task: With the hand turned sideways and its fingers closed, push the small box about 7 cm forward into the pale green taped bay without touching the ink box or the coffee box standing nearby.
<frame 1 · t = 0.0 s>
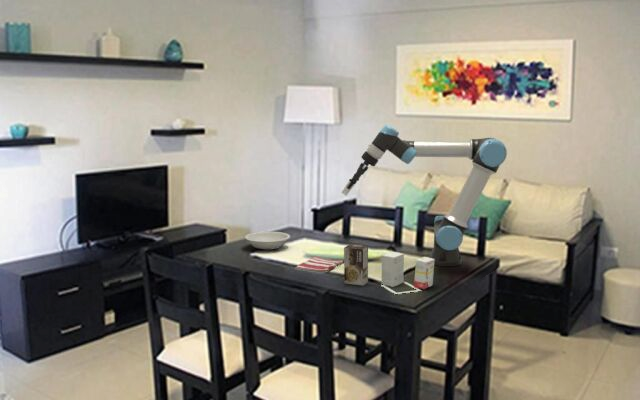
hand: (345, 191, 287), 36 cm above the table, tool tilted 35°, fingers open, 13 cm apart
coffee box: (356, 283, 268), on the table
soup bowl: (267, 248, 329), on the table
ink box: (423, 286, 261), on the table, touching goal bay
small box: (392, 284, 266), on the table
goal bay: (400, 288, 260), on the table
dish towel: (320, 266, 296), on the table
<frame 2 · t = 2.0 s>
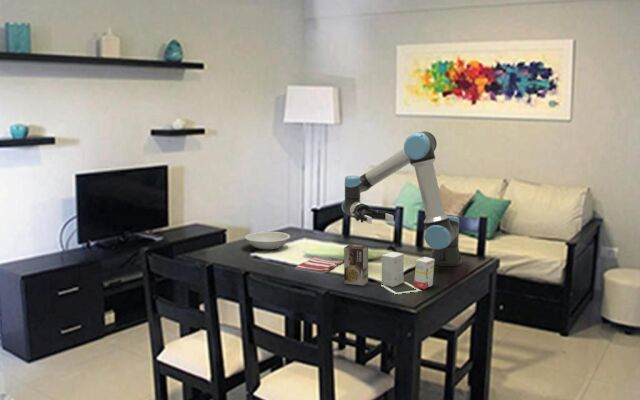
hand: (382, 219, 272), 26 cm above the table, tool horizontal, fingers open, 10 cm apart
nothing on the table moved.
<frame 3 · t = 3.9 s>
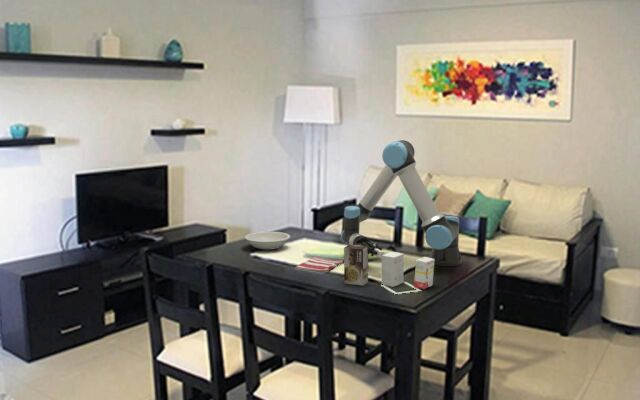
hand: (382, 255, 272), 11 cm above the table, tool horizontal, fingers closed
nothing on the table moved.
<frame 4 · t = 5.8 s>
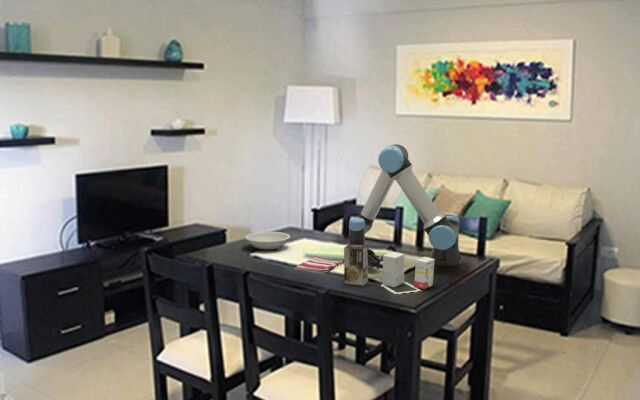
hand: (387, 268, 268), 6 cm above the table, tool horizontal, fingers closed
small box: (393, 284, 265), on the table, touching gripper
everything else where it was.
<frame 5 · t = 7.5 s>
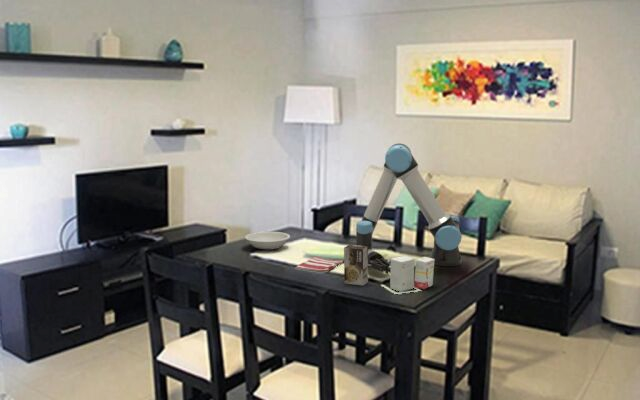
hand: (397, 272, 261), 6 cm above the table, tool horizontal, fingers closed
small box: (401, 289, 259), on the table, touching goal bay, gripper
everything else where it was.
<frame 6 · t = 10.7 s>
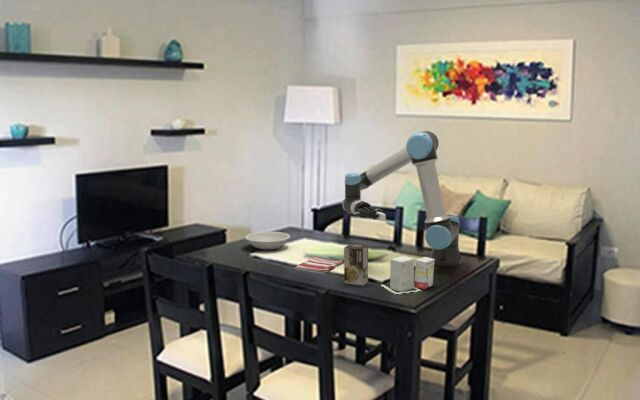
hand: (384, 217, 269), 28 cm above the table, tool horizontal, fingers closed
small box: (401, 289, 259), on the table
everything else where it was.
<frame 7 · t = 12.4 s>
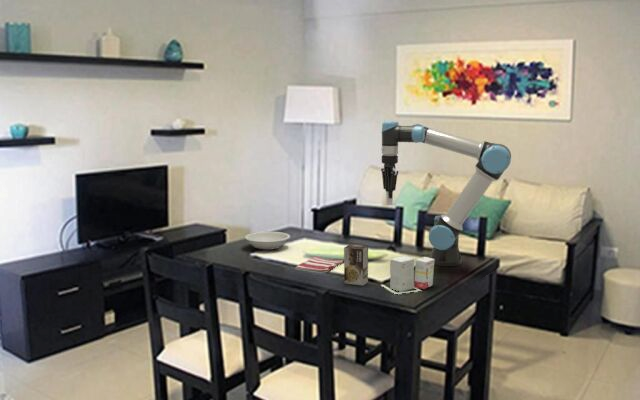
hand: (389, 204, 290), 29 cm above the table, tool pointing down, fingers closed
nothing on the table moved.
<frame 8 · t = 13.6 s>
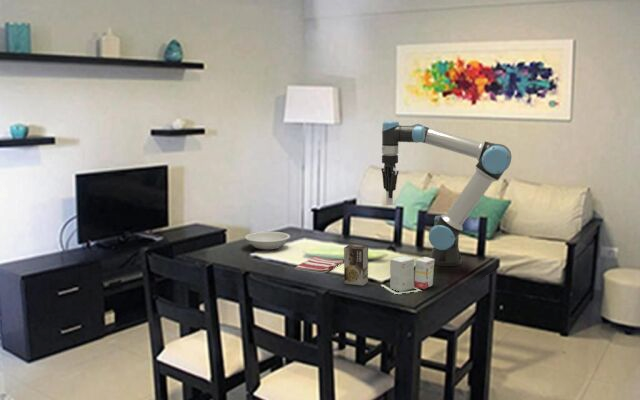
hand: (389, 204, 290), 29 cm above the table, tool pointing down, fingers closed
nothing on the table moved.
at the end: small box 1.0 cm off-centre on the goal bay, point 0.0 cm above the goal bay's base; small box tilted 0°; coffee box moved 0.2 cm from its start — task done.
